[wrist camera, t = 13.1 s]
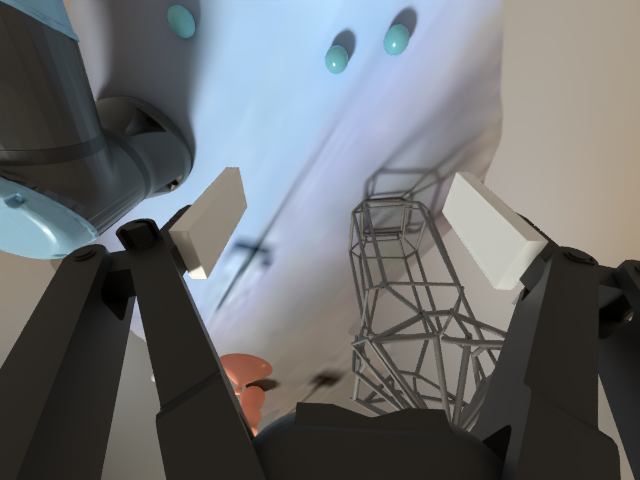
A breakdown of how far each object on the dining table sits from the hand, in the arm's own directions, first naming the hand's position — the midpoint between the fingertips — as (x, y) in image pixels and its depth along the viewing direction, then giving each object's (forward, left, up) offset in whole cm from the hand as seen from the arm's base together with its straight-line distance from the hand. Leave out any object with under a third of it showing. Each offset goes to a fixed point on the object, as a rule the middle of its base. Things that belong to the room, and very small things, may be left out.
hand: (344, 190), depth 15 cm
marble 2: (-2, +6, -25) cm, 26 cm away
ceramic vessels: (-30, -95, -27) cm, 103 cm away
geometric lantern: (+10, -19, -27) cm, 34 cm away
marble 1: (-20, +10, -24) cm, 33 cm away
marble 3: (+7, +8, -24) cm, 26 cm away
